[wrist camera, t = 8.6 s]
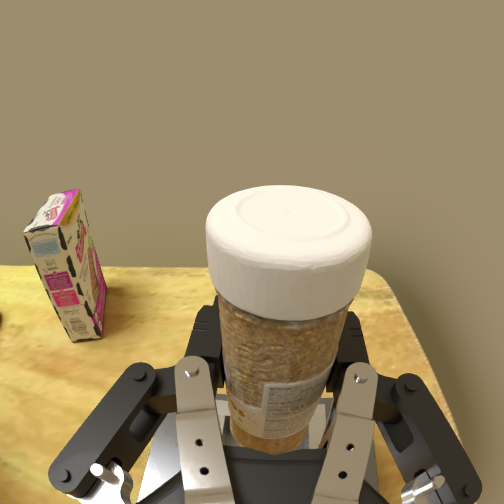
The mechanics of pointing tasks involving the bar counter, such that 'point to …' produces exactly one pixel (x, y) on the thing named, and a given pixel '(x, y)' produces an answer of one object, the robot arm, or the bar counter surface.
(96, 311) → the candy bar box
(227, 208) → the sprinkles bottle
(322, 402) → the collar socket
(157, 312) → the bar counter surface
